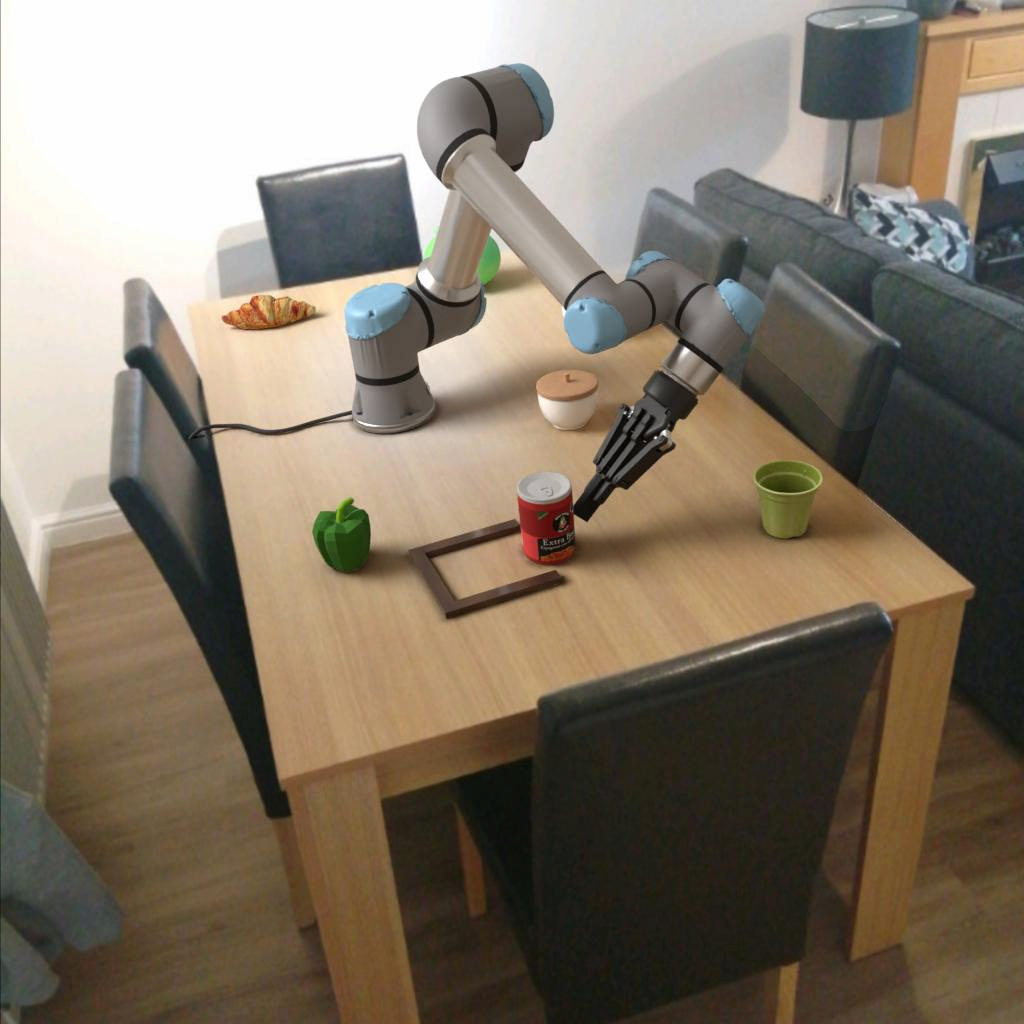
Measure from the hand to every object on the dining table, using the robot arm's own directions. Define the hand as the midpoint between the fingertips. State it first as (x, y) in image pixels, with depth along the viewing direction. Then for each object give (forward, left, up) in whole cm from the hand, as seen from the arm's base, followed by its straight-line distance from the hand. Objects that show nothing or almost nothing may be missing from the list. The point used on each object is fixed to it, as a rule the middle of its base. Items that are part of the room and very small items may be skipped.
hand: (578, 516), depth 149 cm
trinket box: (-7, +37, -4) cm, 38 cm away
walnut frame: (-12, -8, -4) cm, 15 cm away
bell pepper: (-33, -8, -4) cm, 34 cm away
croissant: (-83, +84, -4) cm, 118 cm away
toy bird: (-42, +106, -4) cm, 114 cm away
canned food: (-4, -3, -4) cm, 7 cm away
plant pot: (+29, +5, -4) cm, 30 cm away
